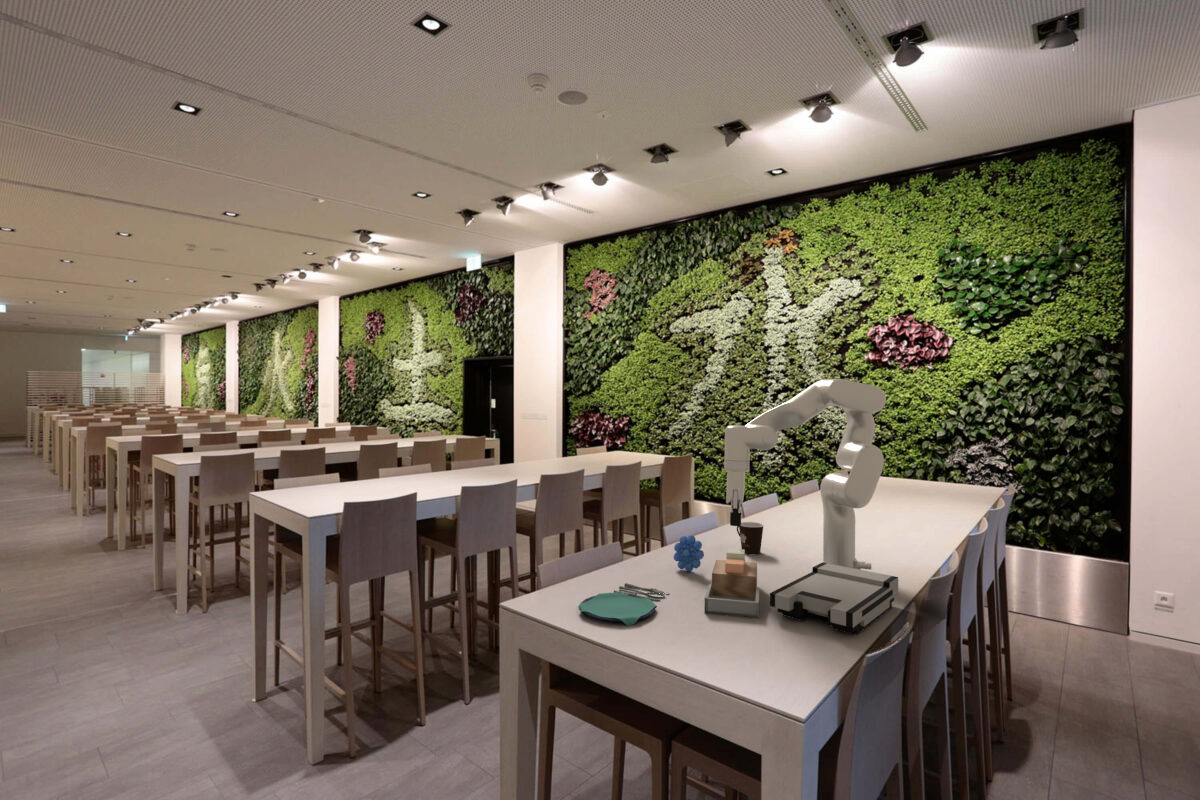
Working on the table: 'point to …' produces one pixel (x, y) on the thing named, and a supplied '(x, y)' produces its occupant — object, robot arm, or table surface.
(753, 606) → the bin
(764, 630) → the table surface
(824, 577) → the game console
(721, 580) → the brown box
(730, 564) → the terracotta block
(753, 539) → the coffee mug
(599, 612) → the cutlery set
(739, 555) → the sage block
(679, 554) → the grapes
